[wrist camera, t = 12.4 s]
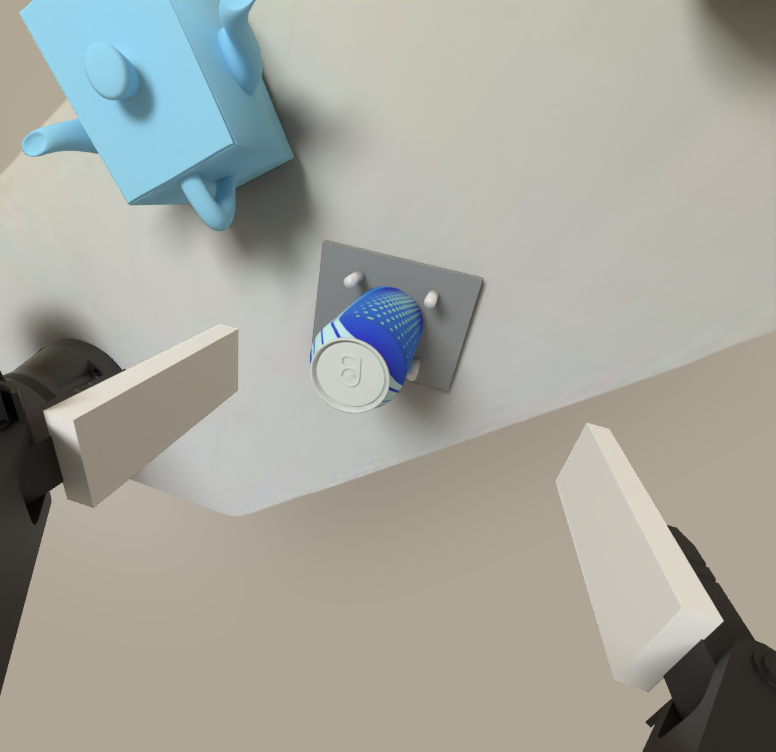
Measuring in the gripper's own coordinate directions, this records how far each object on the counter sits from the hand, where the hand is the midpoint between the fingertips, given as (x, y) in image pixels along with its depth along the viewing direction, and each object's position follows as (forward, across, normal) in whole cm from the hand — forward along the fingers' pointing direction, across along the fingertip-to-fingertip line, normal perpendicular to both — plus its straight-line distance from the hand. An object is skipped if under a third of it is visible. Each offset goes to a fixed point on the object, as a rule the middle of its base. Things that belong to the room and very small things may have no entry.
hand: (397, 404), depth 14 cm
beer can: (+30, -5, -7) cm, 31 cm away
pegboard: (+31, -5, -7) cm, 32 cm away
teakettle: (+31, -27, +11) cm, 42 cm away
